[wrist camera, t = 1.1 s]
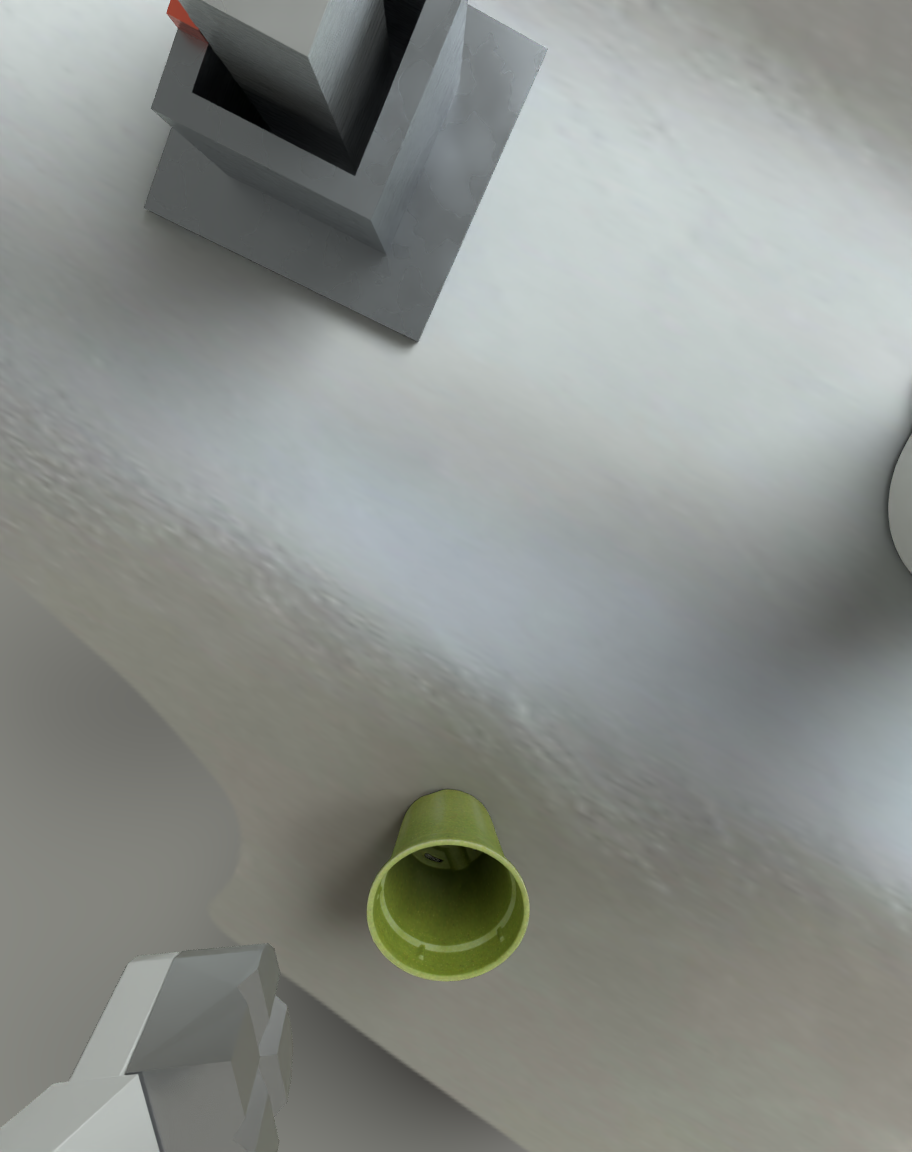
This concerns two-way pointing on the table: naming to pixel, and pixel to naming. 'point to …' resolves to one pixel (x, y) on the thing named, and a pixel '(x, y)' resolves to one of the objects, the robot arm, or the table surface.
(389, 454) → the table surface
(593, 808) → the table surface
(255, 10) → the column
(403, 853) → the plant pot
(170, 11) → the sleeve
